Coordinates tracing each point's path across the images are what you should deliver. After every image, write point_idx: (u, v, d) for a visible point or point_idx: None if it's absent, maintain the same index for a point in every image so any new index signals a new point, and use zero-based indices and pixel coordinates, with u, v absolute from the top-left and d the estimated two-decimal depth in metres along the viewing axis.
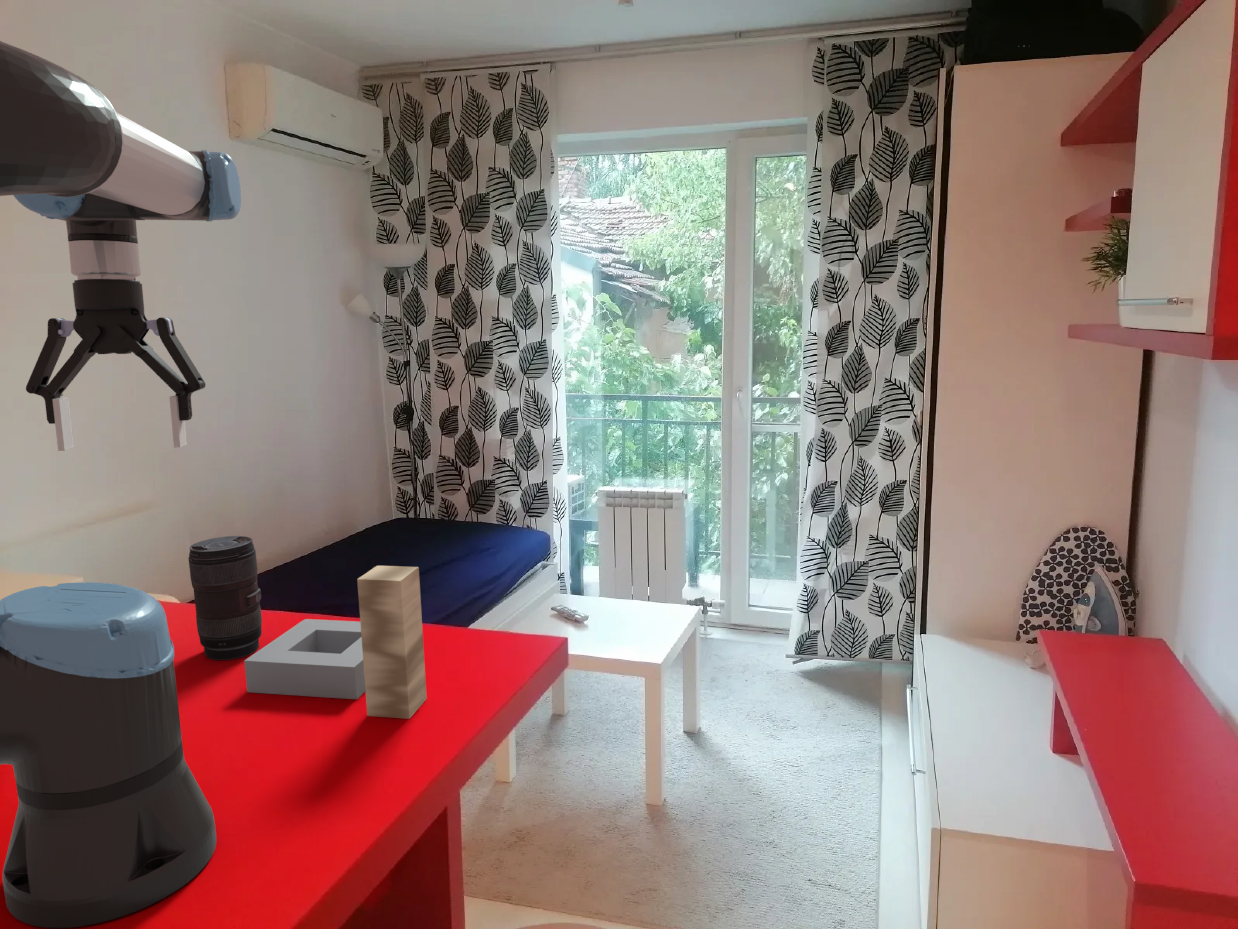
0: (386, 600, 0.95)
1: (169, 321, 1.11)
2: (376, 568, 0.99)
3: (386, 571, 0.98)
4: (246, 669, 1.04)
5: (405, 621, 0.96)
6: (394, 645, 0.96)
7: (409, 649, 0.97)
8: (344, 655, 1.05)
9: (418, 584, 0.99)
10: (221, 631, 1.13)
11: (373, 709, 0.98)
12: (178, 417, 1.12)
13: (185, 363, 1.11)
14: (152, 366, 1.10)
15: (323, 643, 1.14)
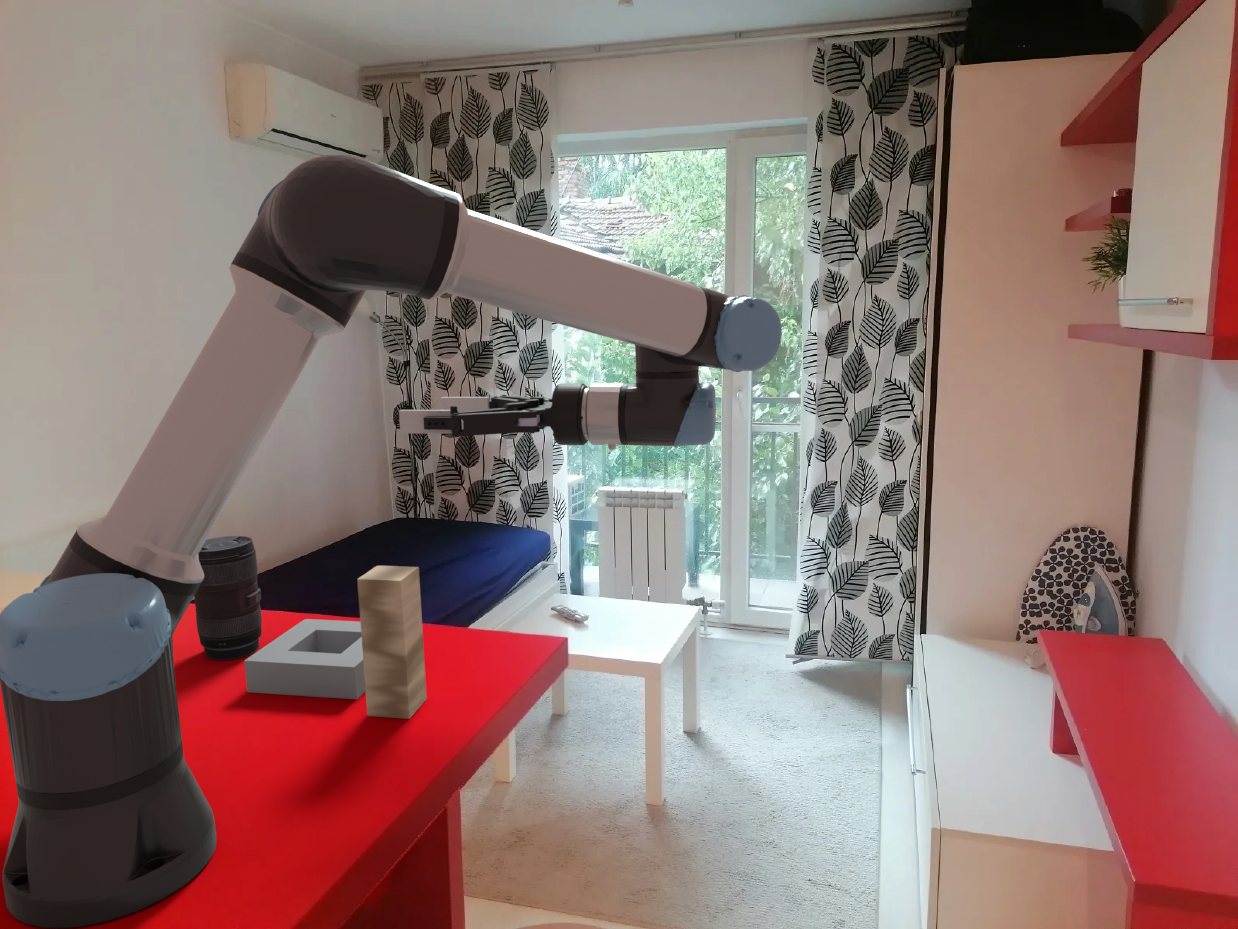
0: (386, 600, 0.95)
1: (531, 422, 1.01)
2: (376, 568, 0.99)
3: (386, 571, 0.98)
4: (246, 669, 1.04)
5: (405, 621, 0.96)
6: (394, 645, 0.96)
7: (409, 649, 0.97)
8: (344, 655, 1.05)
9: (418, 584, 0.99)
10: (221, 631, 1.13)
11: (373, 709, 0.98)
12: (429, 413, 1.03)
13: (482, 413, 1.00)
14: (489, 409, 1.04)
15: (323, 643, 1.14)
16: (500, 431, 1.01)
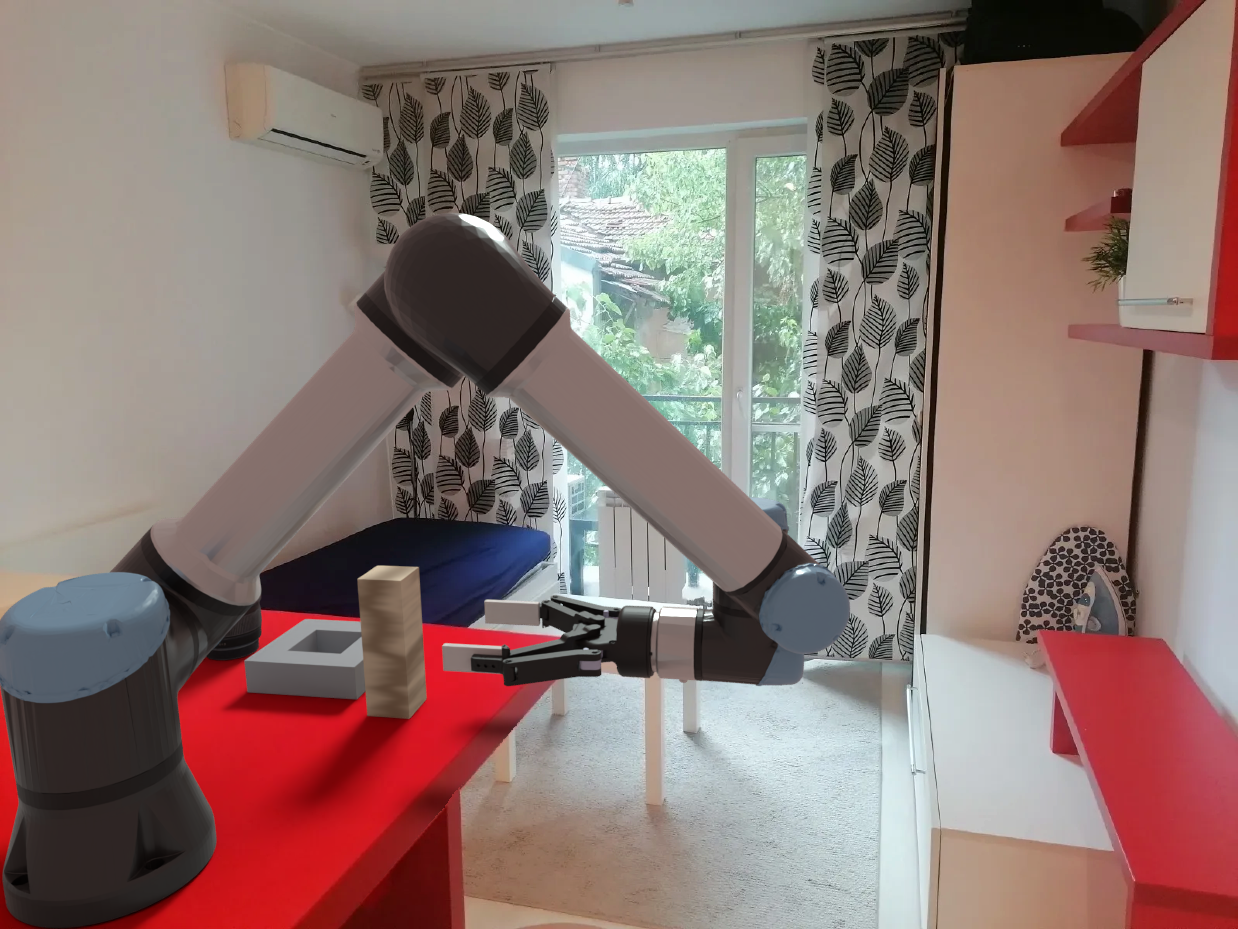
0: (386, 600, 0.95)
1: (594, 666, 0.88)
2: (376, 568, 0.99)
3: (386, 571, 0.98)
4: (246, 669, 1.04)
5: (405, 621, 0.96)
6: (394, 645, 0.96)
7: (409, 649, 0.97)
8: (344, 655, 1.05)
9: (418, 584, 0.99)
10: None
11: (373, 709, 0.98)
12: (477, 650, 0.89)
13: (539, 658, 0.87)
14: (545, 643, 0.91)
15: (323, 643, 1.14)
16: (559, 677, 0.88)
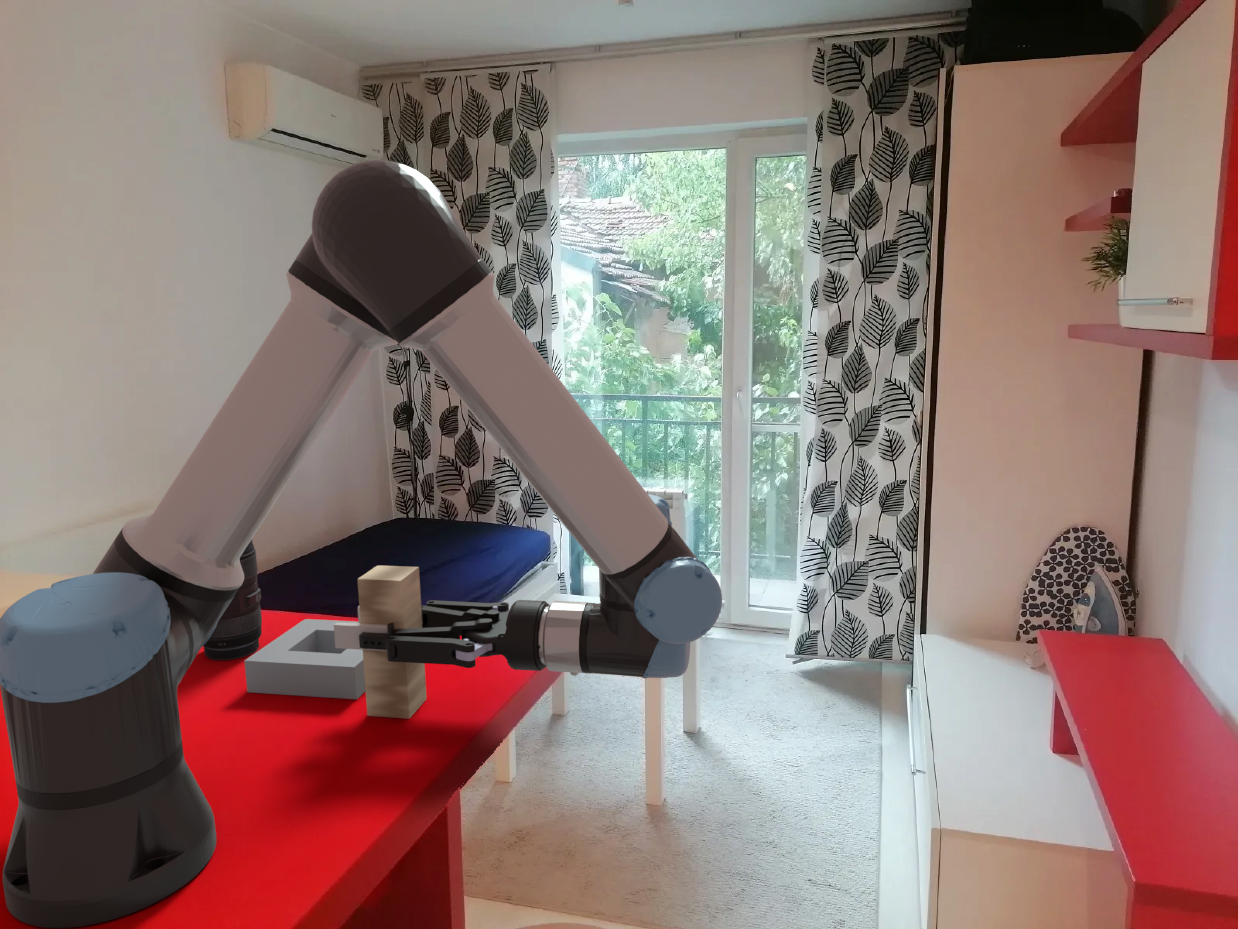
0: (386, 600, 0.95)
1: (465, 657, 0.90)
2: (376, 568, 0.99)
3: (386, 571, 0.98)
4: (246, 669, 1.04)
5: (405, 621, 0.96)
6: None
7: None
8: (344, 655, 1.05)
9: (418, 584, 0.99)
10: (221, 631, 1.13)
11: (373, 709, 0.98)
12: (366, 629, 0.96)
13: (416, 640, 0.92)
14: (434, 628, 0.95)
15: (323, 643, 1.14)
16: (435, 661, 0.92)
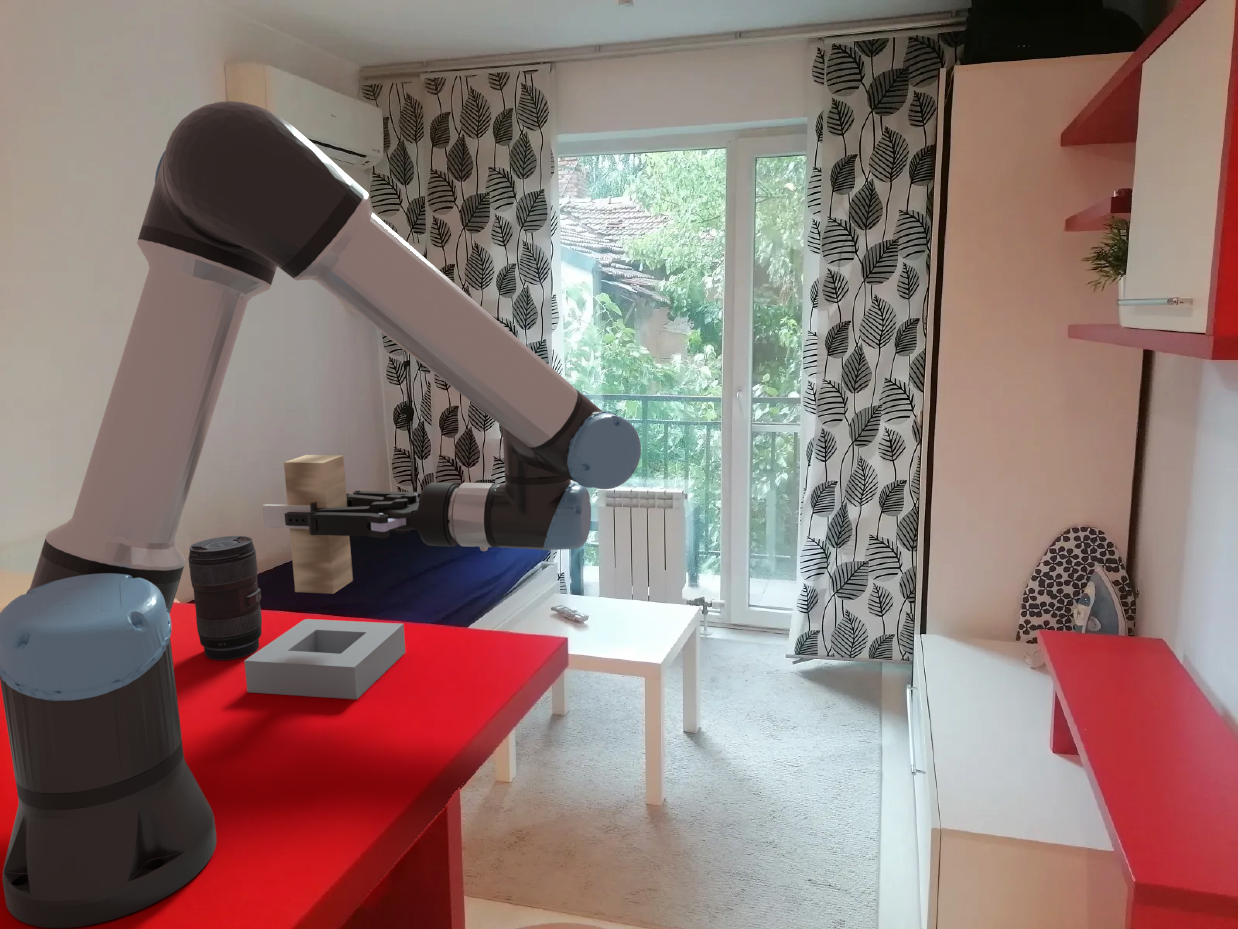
0: (310, 481, 1.03)
1: (379, 528, 0.98)
2: (304, 456, 1.07)
3: (312, 458, 1.06)
4: (246, 669, 1.04)
5: (328, 502, 1.04)
6: None
7: None
8: (344, 655, 1.05)
9: (343, 471, 1.07)
10: (221, 631, 1.13)
11: (300, 585, 1.06)
12: (291, 508, 1.04)
13: (335, 514, 1.00)
14: (354, 507, 1.03)
15: (323, 643, 1.14)
16: (352, 533, 1.00)
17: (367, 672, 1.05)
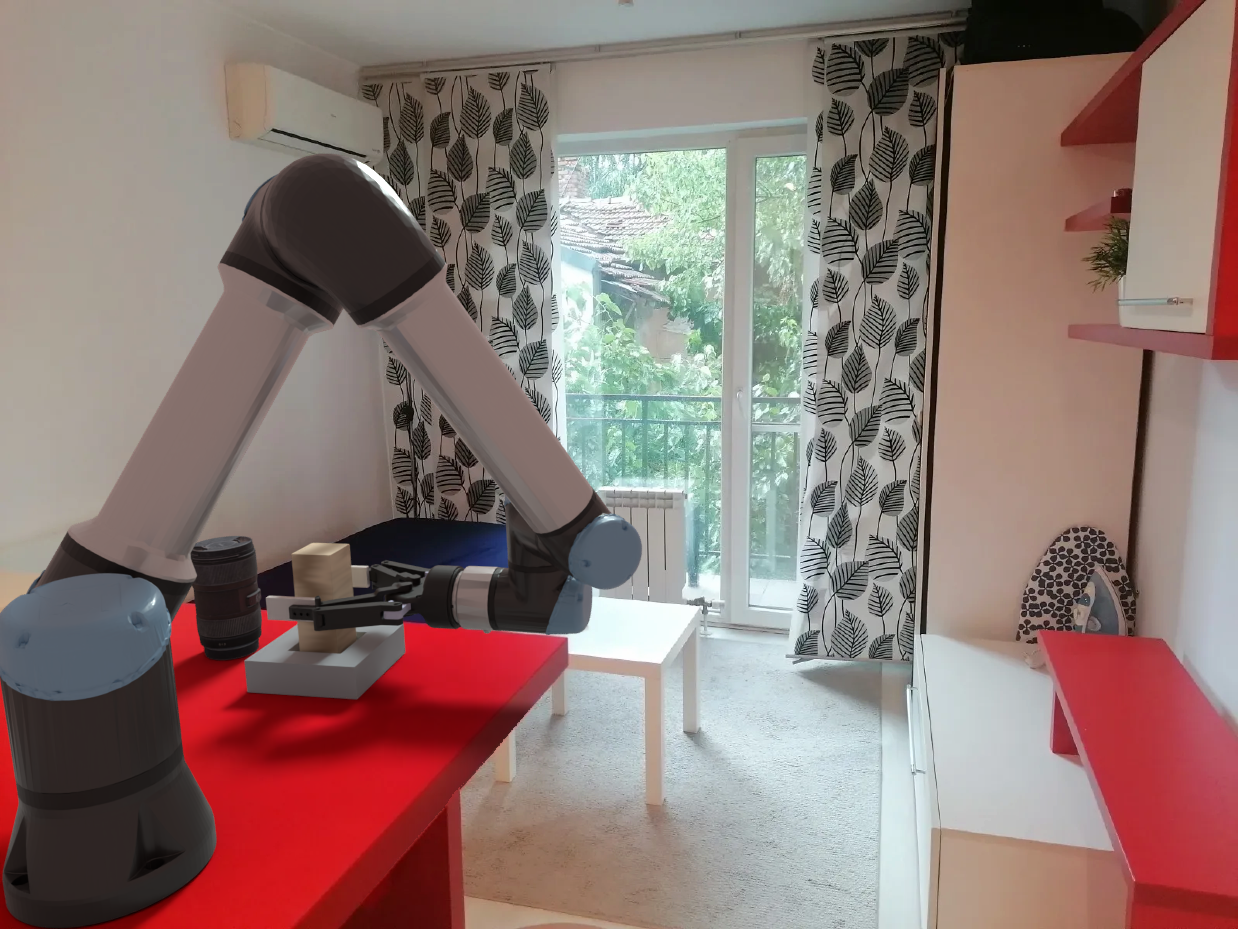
0: (317, 573, 1.05)
1: (395, 616, 1.00)
2: (311, 545, 1.09)
3: (319, 548, 1.08)
4: (246, 669, 1.04)
5: (335, 592, 1.06)
6: None
7: None
8: (344, 655, 1.05)
9: (349, 559, 1.09)
10: (221, 631, 1.13)
11: None
12: (296, 601, 1.02)
13: (344, 608, 0.99)
14: (358, 596, 1.03)
15: None
16: (364, 624, 1.00)
17: (367, 672, 1.05)
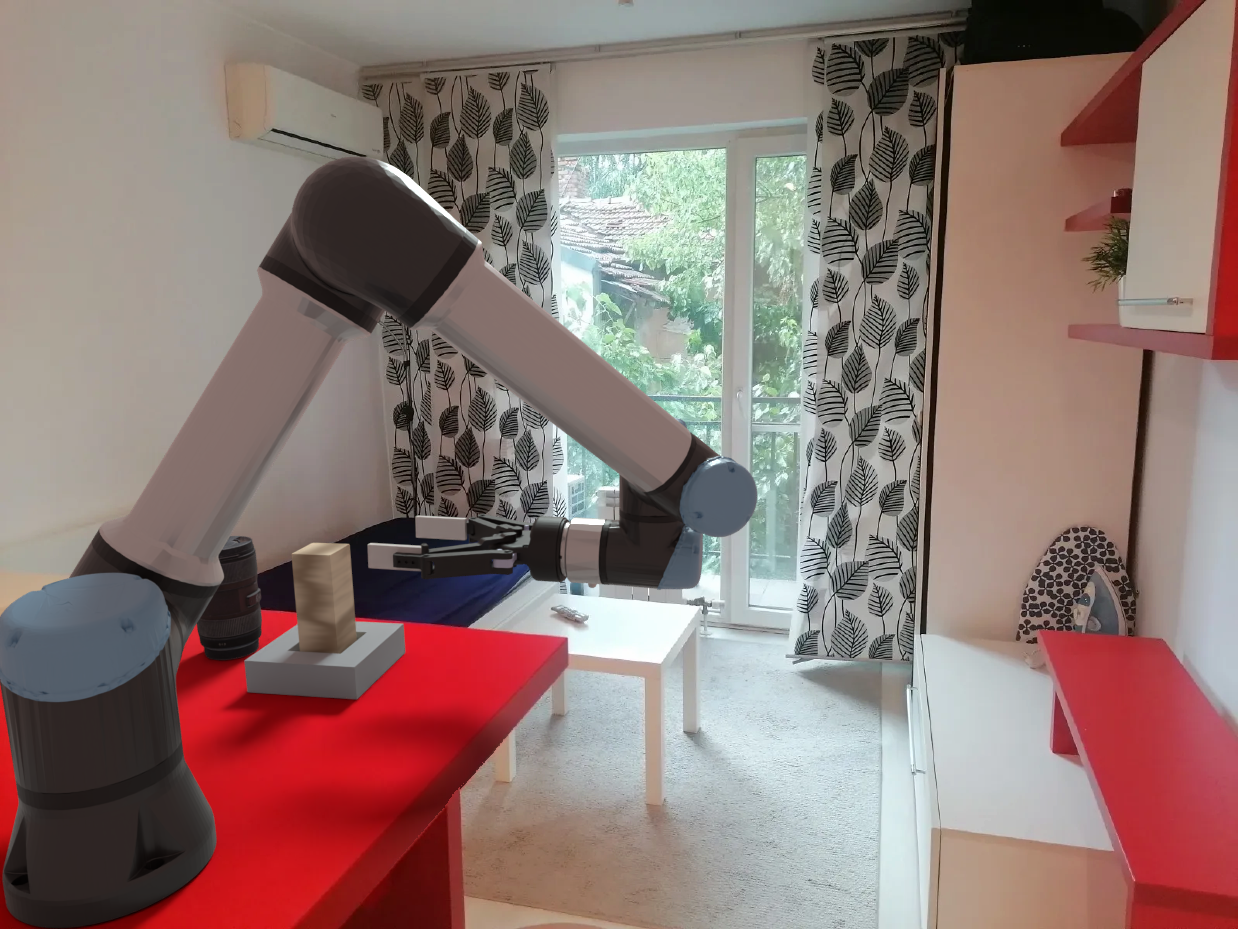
0: (317, 573, 1.05)
1: (506, 564, 0.96)
2: (311, 545, 1.09)
3: (319, 548, 1.08)
4: (246, 669, 1.04)
5: (335, 592, 1.06)
6: (325, 613, 1.06)
7: (339, 617, 1.07)
8: (344, 655, 1.05)
9: (349, 559, 1.09)
10: (221, 631, 1.13)
11: None
12: (399, 549, 0.97)
13: (454, 555, 0.94)
14: (463, 545, 0.98)
15: None
16: (473, 573, 0.95)
17: (367, 672, 1.05)
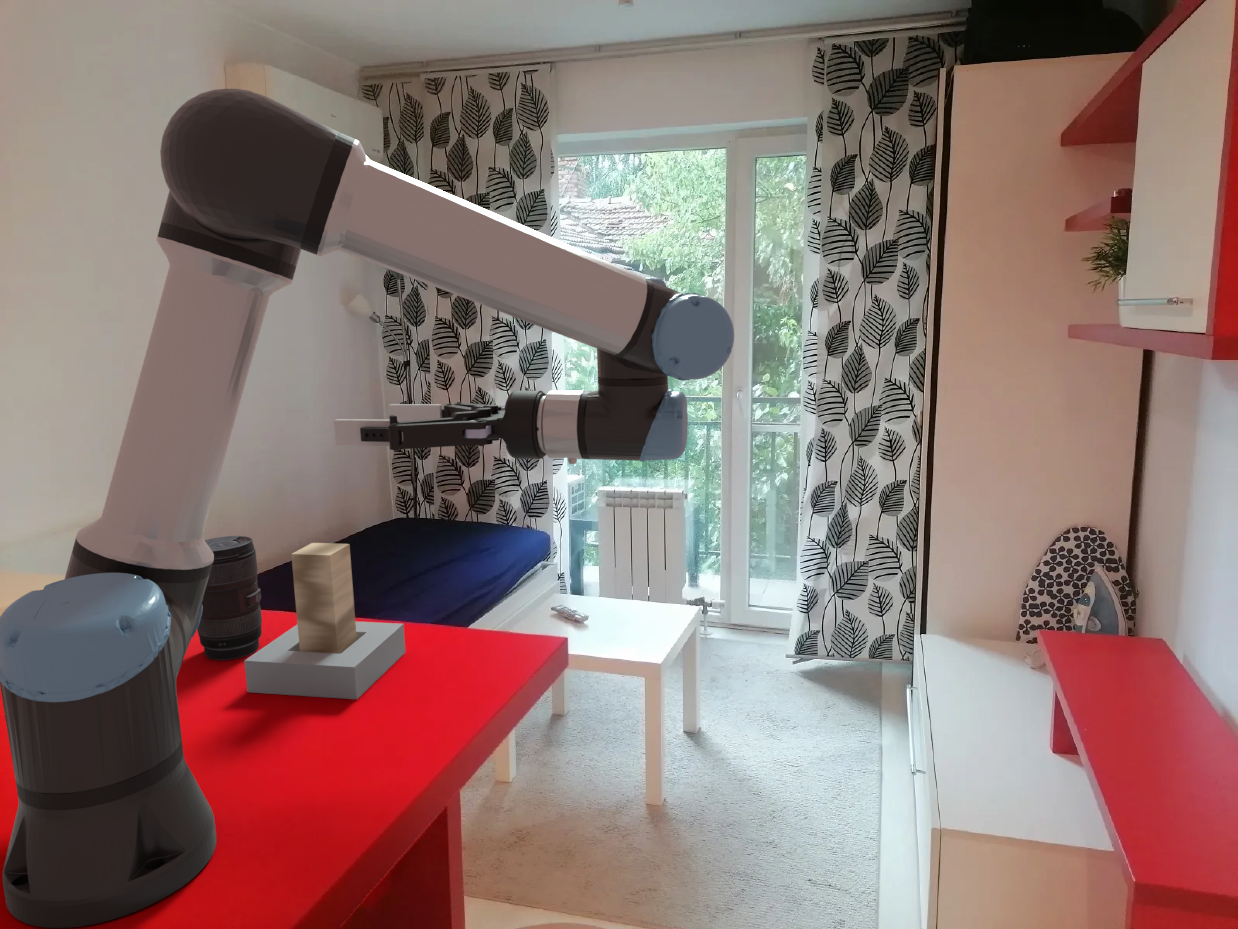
0: (317, 573, 1.05)
1: (479, 434, 0.91)
2: (311, 545, 1.09)
3: (319, 548, 1.08)
4: (246, 669, 1.04)
5: (335, 592, 1.06)
6: (325, 613, 1.06)
7: (339, 617, 1.07)
8: (344, 655, 1.05)
9: (349, 559, 1.09)
10: (221, 631, 1.13)
11: None
12: (367, 423, 0.92)
13: (424, 424, 0.90)
14: (435, 418, 0.93)
15: None
16: (445, 444, 0.90)
17: (367, 672, 1.05)
